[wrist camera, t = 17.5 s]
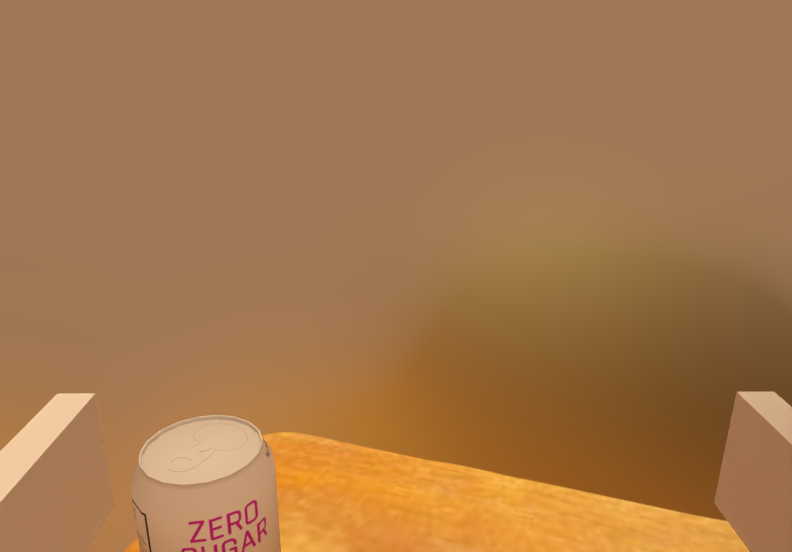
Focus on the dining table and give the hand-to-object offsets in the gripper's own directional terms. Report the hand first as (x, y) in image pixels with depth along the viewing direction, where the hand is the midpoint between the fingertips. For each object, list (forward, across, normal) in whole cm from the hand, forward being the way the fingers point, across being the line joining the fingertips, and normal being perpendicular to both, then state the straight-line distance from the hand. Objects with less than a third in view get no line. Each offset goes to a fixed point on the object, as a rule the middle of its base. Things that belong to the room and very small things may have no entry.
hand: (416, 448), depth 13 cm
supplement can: (+21, -12, -29) cm, 38 cm away
